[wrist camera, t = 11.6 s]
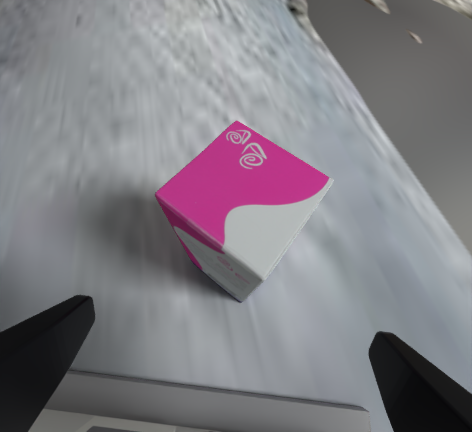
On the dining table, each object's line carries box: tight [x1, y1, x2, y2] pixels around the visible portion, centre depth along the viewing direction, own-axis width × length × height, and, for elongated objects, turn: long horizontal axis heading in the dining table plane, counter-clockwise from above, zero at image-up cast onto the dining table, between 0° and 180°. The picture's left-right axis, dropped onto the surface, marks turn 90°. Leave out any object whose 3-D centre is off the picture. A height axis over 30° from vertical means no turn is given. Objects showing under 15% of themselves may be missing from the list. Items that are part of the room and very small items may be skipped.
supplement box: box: [155, 121, 334, 303], centre depth 15 cm, size 6×6×12 cm
